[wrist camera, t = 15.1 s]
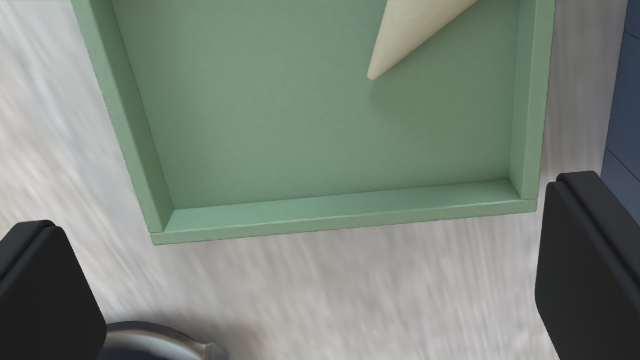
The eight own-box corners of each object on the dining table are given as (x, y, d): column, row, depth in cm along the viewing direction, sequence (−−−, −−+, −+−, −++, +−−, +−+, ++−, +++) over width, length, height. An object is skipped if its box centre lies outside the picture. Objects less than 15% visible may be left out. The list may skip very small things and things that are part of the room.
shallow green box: (54, -143, 22) (20, -144, 19) (548, -215, 20) (577, -227, 18) (167, 216, 31) (152, 246, 28) (519, 183, 29) (536, 212, 27)
